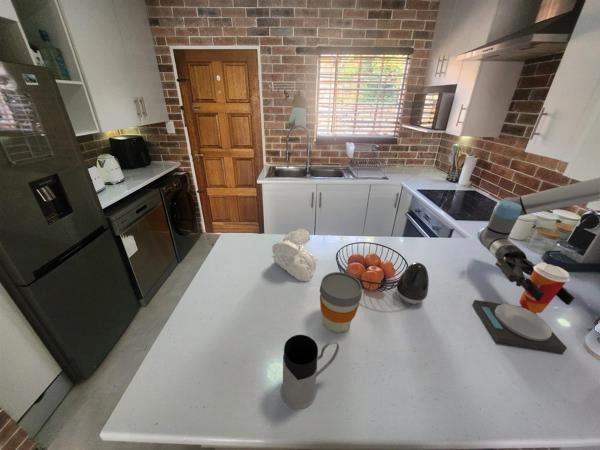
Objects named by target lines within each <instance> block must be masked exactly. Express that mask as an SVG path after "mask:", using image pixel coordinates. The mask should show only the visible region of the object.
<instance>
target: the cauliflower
mask: <svg viewBox="0 0 600 450" xmlns="http://www.w3.org/2000/svg"><path fill="white" fill-rule="evenodd" d="M310 240H311V234H310V233H309V231H307V230H306V229H303V228H299V229H297V230H292V231H290V232H288V233H287V234H286V235H285V236H284V237H283V238H282V240H281V241H277V242H276V243H274V244H273V245H272V247H271V252H272V255H271V258H273V259H272V260H273V262H274V263H275V264H276V266H280V268H281V269H283V270H284V271H287V273H288V274H289V275H290V276H292V277H294V278H295V279H296V280H298V281H301V282H308V281H310V280H311V278H313V276H314V275H315V273H316V270H317V261H318V259H317V258H315V256H314V254H313V253H311V250H306V249H305V247H304V246H305V245H306V244H307V243H309V241H310Z"/></svg>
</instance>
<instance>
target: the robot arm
mask: <svg viewBox="0 0 600 450" xmlns="http://www.w3.org/2000/svg"><path fill="white" fill-rule="evenodd" d="M599 201H600V177H596V178H591V179H587V180H582V181H579V182H574V183H570V184H567V185H561V186H558V187H554V188H550V189H545V190H540V191H537V192H533V193H528V194H523V195H521V196H516V197H514V196H513V197H511V196H508V197H505V198H502V199H501V200H499V201H497V203H496V204H495V206H494V208H493V211H492V214H491V215H490V219H489V221H488V224H487V226H484V227H481V229H480V230H479V231H478V232H477V234H476V235H477V240H478V241H479V242H480V244H481V245H482V246H483V247H484V248H485V249H486V250H488V251H489V253H490V254H491V255H492V256H493V257H494V258H495V259H496V262H495V264H494V265H495V266H496V267H498V268H499V269H500V271H501V272H502V273H503V275H504V276H505V278H507V280H508V281H509V282H510V283H515V286H516V287H522V288H523V289H524V290H527V291H528V292H529V293H530V294H531V295H532V296H533V297H534V298H535V299H536V300H537V301H540V300H541V298H542V296H543V295H544V293H543V292H542V291H541V290H540V289H539V288H538V287H537V286H536V285H535V284H534V283H533V282H532V281H531V280H530V278H526V276H525V274H526V275H527V276H531V275H532V273H533V270H534V268H533V267H534V266H536V265H537V264H539V263H540V262H538V263H537V264H536V263H533V262H532V261H530V259H529V260H528V258H527V255H526V253H525V252H524V251H523V250H522V249H521V248H520V247H519V246H518V245H516V244H515V243H514V242H512V241H511V240H510V239H509V237H510V235H511V233H512V230H513V228H514V226H515V225H516V222H517V220H518V219H519V217H522V216H528V215H532V214H537V213H541V212H548V211H551V210H552V211H553V210H557V209H563V208H568V207H573V206H579V205H583V204H589V203H594V202H599ZM555 296H557V298H558V299H559V300H560V301H562V302H563V303H564V305H567V306H570V305H571V304H572V302H573V301H574V299H575V297H574V295H572V294H571V293H570V292H569V291H568V290H567V289H566V288H565V287H564V286H563V287H562V288H561V289H560V290H559V292H558V293H557V294H556V295H555Z"/></svg>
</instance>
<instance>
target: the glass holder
mask: <svg viewBox="0 0 600 450" xmlns="http://www.w3.org/2000/svg"><path fill="white" fill-rule="evenodd" d="M332 345H336V347H335V351H334V353H333V355H332V356H331V357H330V359H329V360H328V361H327V362H326V363H325V364H324V365H323V366H322V367H321V368H320V369H319V370H318V361H320V360H321V359H322V358H323V357H324V353H325V350H326V349H327V348H328V347H329V346H332ZM339 350H340V344H339V343H338V341H337V340H331V341H330V340H329V341H328V342H326V343H325V344H324V345H323V346H322V348H321V350H320V355H319V348H318V344H317V343H316V341H315V340H314V339H313V338H312V337H311V336H308V335H305V334H295V335H293V336H291V337H289V338H288V339H287V340H286V341H285V344H284V345H283V355H282V383H281V387H280V395H281V398H282V401H283V402H284V403H285V404H286V405H287V406H288V407H289V408H291V409H293V410H298V411H299V410H304V409H305V410H306V409H307V408H308V407H310V406H311V405H312V404H313V403H314V402H315V400H316V397H317V385H316V384H317V383H316V382H317V378H318V376H319V375H320V374H321V373H323V372H324V371H325V370H326V369H327V368H328V367H330V365H331V364H332V363H333V361H335V359H336V358H337V355H338V353H339Z"/></svg>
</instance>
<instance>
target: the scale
mask: <svg viewBox="0 0 600 450" xmlns="http://www.w3.org/2000/svg"><path fill="white" fill-rule="evenodd" d="M472 307H473V310H474V311H475V312H476V314H477V315H478V318H480V320H481V322H482V323H483V326H484V327H485V328H486V330H487V331H488V333H489V335H490V336H491V338H492V340H493V341H494V343H495V344H498V345H504V346H505V345H506V346H511V347H517V348H522V349H523V348H524V349H530V350H535V351H536V350H537V351H543V352H550V353H557V354H564V353H565V351H567V349H568V346H566V345H565V344H564V343H563V342H562V340H561V339H560V338H559V337H558V336H557V335H556V334H555V333H554V332H553V330H552V328H551V326H550V325H549V324H548V323H547V322H546V320H544V319H543V318H542V317H541V316H539V314H538V313H534V312H531V311H529V310H527V309H525V308H524V307H522V306H521V305H515V304H512V303H500V302H493V301H485V300H478V299H474V300H473V302H472Z"/></svg>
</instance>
